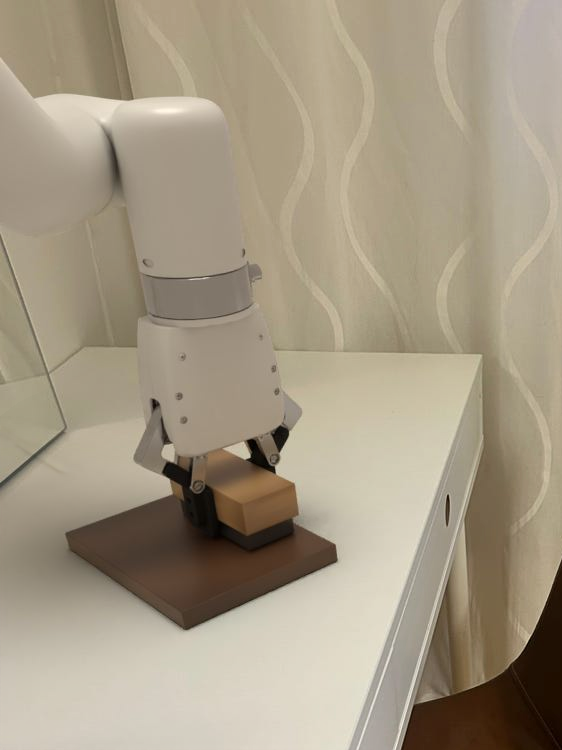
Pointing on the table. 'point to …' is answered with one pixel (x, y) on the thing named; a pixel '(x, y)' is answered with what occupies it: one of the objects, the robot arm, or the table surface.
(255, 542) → the brush
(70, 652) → the table surface
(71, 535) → the board
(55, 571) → the table surface
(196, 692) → the table surface
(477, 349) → the table surface
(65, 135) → the robot arm
